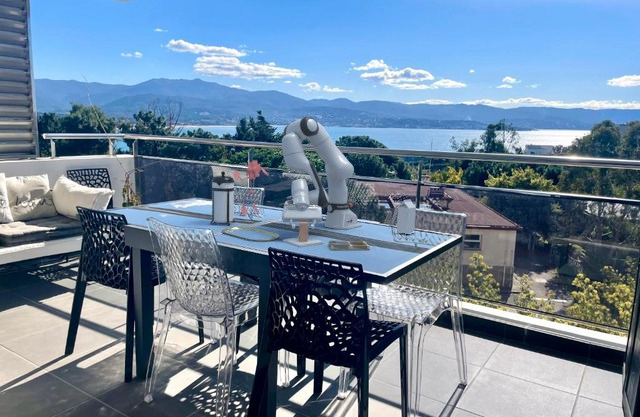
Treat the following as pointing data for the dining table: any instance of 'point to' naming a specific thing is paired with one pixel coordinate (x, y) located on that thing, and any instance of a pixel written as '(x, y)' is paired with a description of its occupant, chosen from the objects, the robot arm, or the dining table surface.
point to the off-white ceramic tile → (302, 244)
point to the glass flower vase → (252, 173)
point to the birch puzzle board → (347, 245)
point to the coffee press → (222, 199)
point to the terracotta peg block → (303, 231)
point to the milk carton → (406, 217)
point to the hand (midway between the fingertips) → (303, 228)
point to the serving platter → (252, 230)
